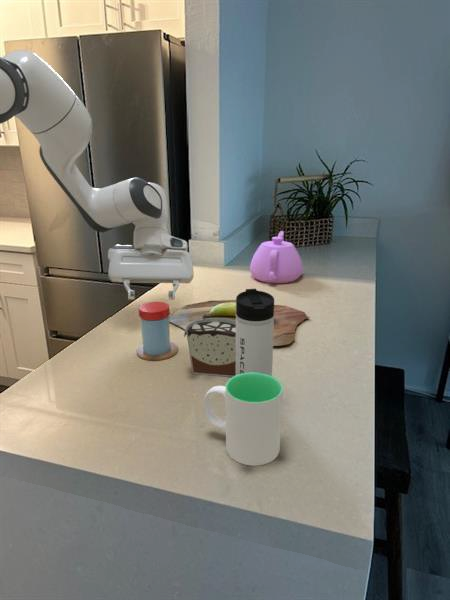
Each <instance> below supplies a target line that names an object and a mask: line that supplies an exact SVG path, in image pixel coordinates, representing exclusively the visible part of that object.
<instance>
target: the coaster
mask: <svg viewBox="0 0 450 600" xmlns="http://www.w3.org/2000/svg"><path fill="white" fill-rule="evenodd" d="M170 346H171V349H170V351H169V352H167V353H165V354H162V355H148V354H146V353H144V352H143V344H140V345H139V346H138V347H137V349H136V355H137V357H138V358H140V359H142V360H144V361H149V362H160V361H165V360H168V359H171V358H173V357H174V356H176V355H177V354H178V352H179V347H178V345H177V344H176V343H174V342H172V341H170Z"/></svg>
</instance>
